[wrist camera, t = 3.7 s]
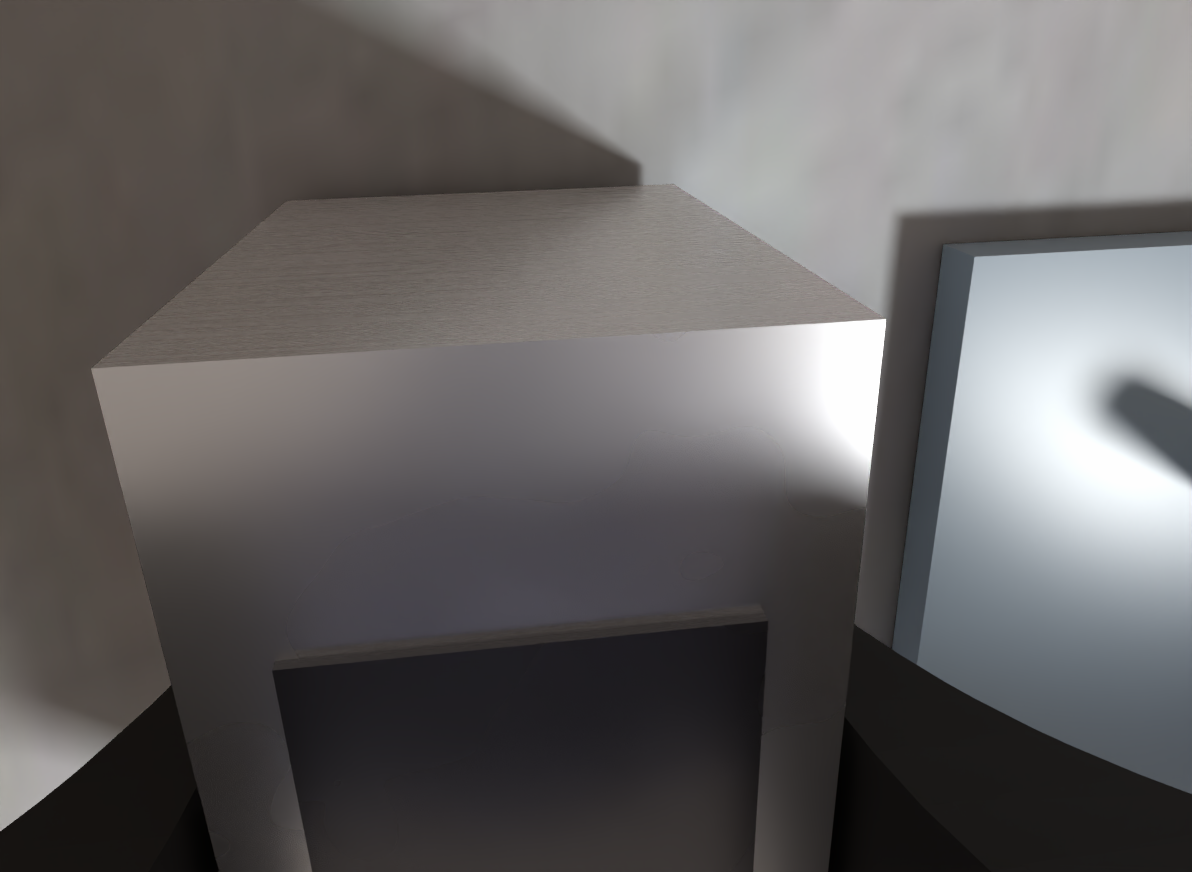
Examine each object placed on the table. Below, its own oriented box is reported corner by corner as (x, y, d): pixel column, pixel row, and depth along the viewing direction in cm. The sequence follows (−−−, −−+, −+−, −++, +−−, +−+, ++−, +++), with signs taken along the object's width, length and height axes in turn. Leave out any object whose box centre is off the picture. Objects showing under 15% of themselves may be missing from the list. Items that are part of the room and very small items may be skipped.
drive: (673, 183, 11) (894, 325, 5) (667, 815, 15) (790, 1273, 9) (286, 201, 10) (85, 375, 5) (386, 849, 14) (338, 1357, 9)
